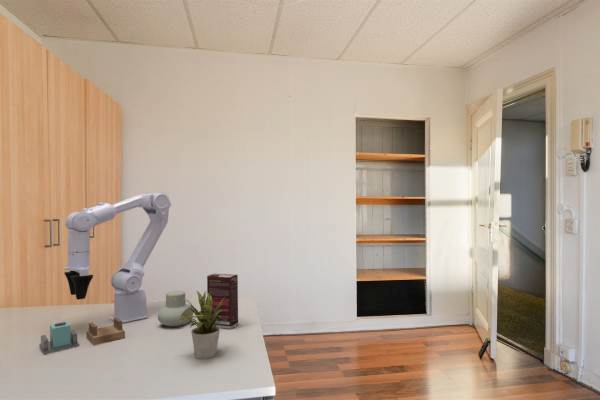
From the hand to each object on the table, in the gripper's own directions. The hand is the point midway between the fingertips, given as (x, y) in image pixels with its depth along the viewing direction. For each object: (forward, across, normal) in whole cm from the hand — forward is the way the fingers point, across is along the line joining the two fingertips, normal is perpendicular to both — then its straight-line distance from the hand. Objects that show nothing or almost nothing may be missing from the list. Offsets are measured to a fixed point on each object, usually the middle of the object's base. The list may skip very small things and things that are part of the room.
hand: (77, 296), depth 113 cm
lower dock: (+11, +10, -6) cm, 16 cm away
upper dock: (+10, +12, +5) cm, 16 cm away
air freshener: (+10, +14, +25) cm, 30 cm away
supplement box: (+10, +26, +35) cm, 44 cm away
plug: (+10, +10, -6) cm, 15 cm away
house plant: (+10, +41, +20) cm, 47 cm away
